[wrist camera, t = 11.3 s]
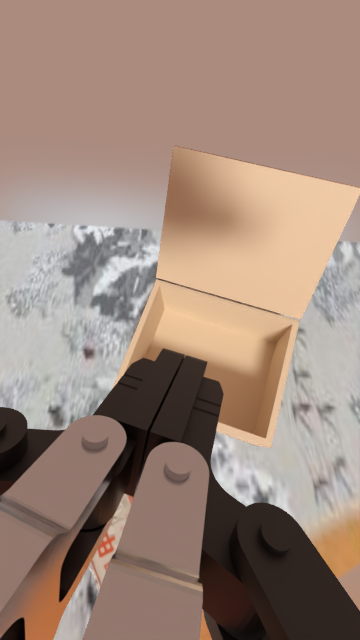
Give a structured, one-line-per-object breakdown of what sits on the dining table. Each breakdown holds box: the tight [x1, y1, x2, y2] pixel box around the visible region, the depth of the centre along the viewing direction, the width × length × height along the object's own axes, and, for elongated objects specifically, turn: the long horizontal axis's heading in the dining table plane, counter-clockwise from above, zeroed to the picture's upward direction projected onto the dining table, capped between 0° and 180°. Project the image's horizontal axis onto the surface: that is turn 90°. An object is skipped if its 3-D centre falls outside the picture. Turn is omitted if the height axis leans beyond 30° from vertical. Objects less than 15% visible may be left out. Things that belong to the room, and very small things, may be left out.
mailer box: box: [112, 279, 299, 448], centre depth 36 cm, size 16×13×8 cm
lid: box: [156, 146, 360, 319], centre depth 30 cm, size 16×13×1 cm
